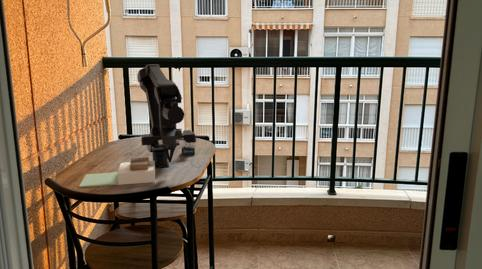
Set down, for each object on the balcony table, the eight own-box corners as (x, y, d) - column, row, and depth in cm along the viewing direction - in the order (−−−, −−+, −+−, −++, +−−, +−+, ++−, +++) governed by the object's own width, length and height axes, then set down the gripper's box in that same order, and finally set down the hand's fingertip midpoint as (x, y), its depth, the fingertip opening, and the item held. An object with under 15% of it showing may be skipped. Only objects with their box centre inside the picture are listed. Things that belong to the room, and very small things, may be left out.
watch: (181, 156, 169) (180, 131, 167) (182, 151, 177) (181, 127, 175) (194, 156, 170) (194, 130, 167) (195, 151, 178) (194, 127, 175)
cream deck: (121, 173, 147) (121, 162, 147) (155, 170, 150) (154, 160, 149) (118, 184, 135) (117, 173, 134) (154, 182, 137) (154, 170, 136)
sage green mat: (86, 175, 145) (85, 174, 145) (121, 173, 147) (121, 171, 147) (79, 187, 133) (79, 186, 132) (118, 184, 135) (118, 183, 135)
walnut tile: (131, 163, 145) (131, 158, 145) (148, 162, 147) (148, 157, 146) (130, 170, 137) (129, 165, 136) (148, 169, 138) (147, 164, 138)
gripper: (139, 124, 131) (142, 170, 134) (196, 121, 134) (198, 166, 138) (140, 118, 141) (143, 161, 145) (193, 116, 145) (195, 157, 148)
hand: (169, 161), depth 143 cm, fingers closed
